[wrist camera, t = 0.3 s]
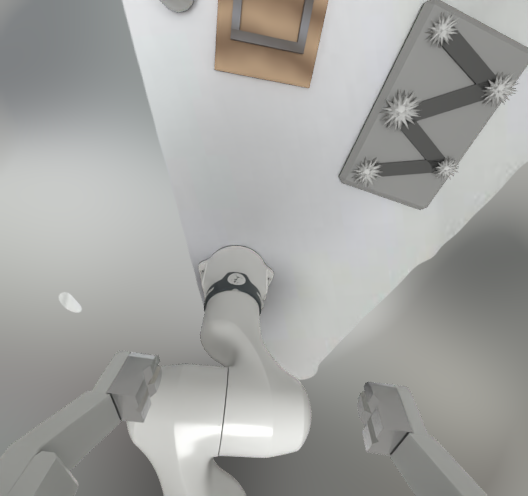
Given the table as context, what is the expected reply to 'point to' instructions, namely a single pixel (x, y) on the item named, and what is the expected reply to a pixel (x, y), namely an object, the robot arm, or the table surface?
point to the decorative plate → (433, 105)
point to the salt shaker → (177, 4)
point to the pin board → (269, 38)
